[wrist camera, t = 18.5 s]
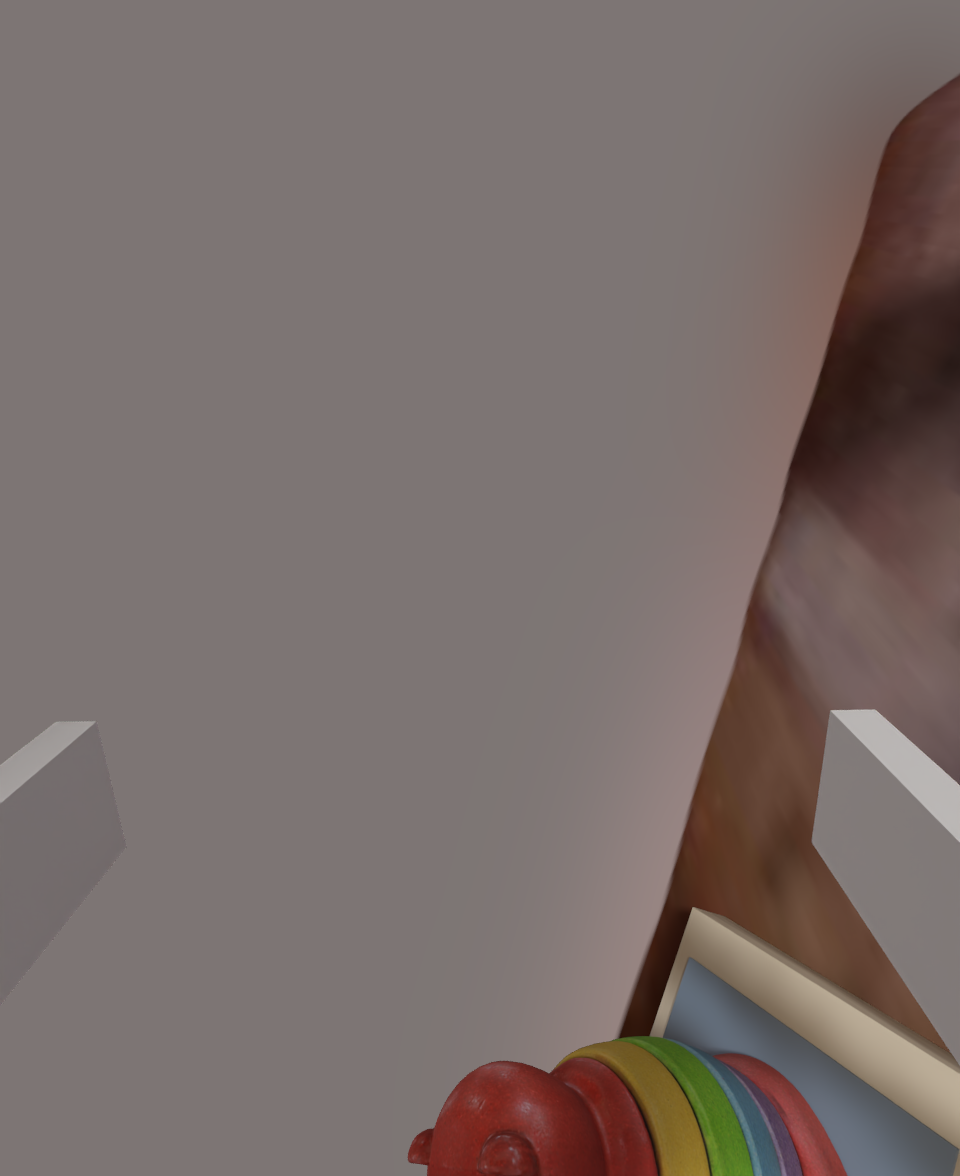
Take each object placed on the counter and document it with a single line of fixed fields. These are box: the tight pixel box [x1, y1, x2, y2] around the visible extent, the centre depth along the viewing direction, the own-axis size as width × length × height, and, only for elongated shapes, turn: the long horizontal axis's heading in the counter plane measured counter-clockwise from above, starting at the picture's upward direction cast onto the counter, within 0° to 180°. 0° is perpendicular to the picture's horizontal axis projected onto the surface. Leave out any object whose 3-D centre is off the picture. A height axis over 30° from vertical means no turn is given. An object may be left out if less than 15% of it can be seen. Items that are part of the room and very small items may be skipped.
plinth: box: [650, 907, 960, 1176], centre depth 32 cm, size 18×16×3 cm
